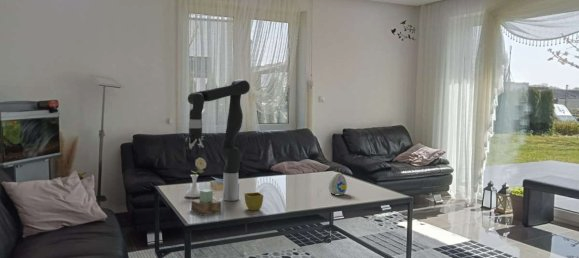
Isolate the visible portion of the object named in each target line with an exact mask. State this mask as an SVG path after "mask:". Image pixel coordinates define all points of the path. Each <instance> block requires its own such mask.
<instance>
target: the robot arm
mask: <svg viewBox="0 0 579 258" xmlns="http://www.w3.org/2000/svg"><path fill="white" fill-rule="evenodd" d="M250 88H251V85H250V83H249V82H248V80H245V79H234V80H233V81H232V82H231V84H229V85H226V86H225V85H224V86H218V87H211V88H209V89H206V90H200V91H193V92H191V93H189V94H188V96H187V102H188V103H189V104H190V105H192V108H191V109H190V110H189V120H188V135H189V137H185V138H184V148H185V149H187V156H189V157H190V156H192V149H193V147H194V146H195V145H198V147H199V148H198V154H199V155H203V153H204V148H205V147H206V146H207V139H206V136H204V135H203V110H204V106H205V103H206V102H212V101H215V100H220V99H222V98H226V97H229V104H228V105H229V106H228V114H227V120H226V121H227V122H226V128H225V129H226V130H225V135H224V136H225V137H224V139H223V145H222V150H221V156H222V159H223V160H225V161H226V162H227V163H226V166H224V168H223V184H222V185H223V187H222V188H223V191H222V200H224V201H227V202H234V201H237V200H239V199H240V183H239V170H240V168H241V167H240V166H241V150H240V149H239V148H238V147H235V143H236V142H235V141H236V139H237V136H238V134H239V133H240V131H241V128H242V126H243V120H244V119H243V117H244V116H243V115H244V113H243V111H242V107H241V97H242V95H246V94H247V93H249V91H250Z"/></svg>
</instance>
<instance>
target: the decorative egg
mask: <svg viewBox="0 0 579 258" xmlns="http://www.w3.org/2000/svg"><path fill="white" fill-rule="evenodd" d="M347 188H348V184H347V178H346V177H345V175H344V174H342V173H341V172H335V173H333V174H332V175H331V177H330V179H329V181H328V190H329V191H328V192H329V193H330V194H331V193H332V194H344V195H345V193H346V192H347ZM332 194H331V195H332Z"/></svg>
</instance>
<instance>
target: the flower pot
mask: <svg viewBox="0 0 579 258" xmlns="http://www.w3.org/2000/svg"><path fill="white" fill-rule="evenodd" d="M244 201H245V205H246V207H247V209H248V210H249V211H252V212H253V211H260V209H261V208H262V206H263V202H264V195H263V194H261V192H258V191H257V192H247V193H244Z"/></svg>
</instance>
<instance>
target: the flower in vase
mask: <svg viewBox="0 0 579 258" xmlns="http://www.w3.org/2000/svg"><path fill="white" fill-rule="evenodd" d="M194 164H195V167H196V168H197V171H194V170H190V171H191V173H194V174H190V177H191V179H192V186H191V187H190V189H188V190H187V191H186V192H185V193H184V194H185V196H186V197H188V198H200V191H201V189H200V188H199V187H197V180H198V177H199V174H203V173H204V172H205V171H204V169H206V167H207V162H206V160H205V159H204V158H202V157H198V158H197V159H195V162H194ZM197 173H199V174H197Z"/></svg>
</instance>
